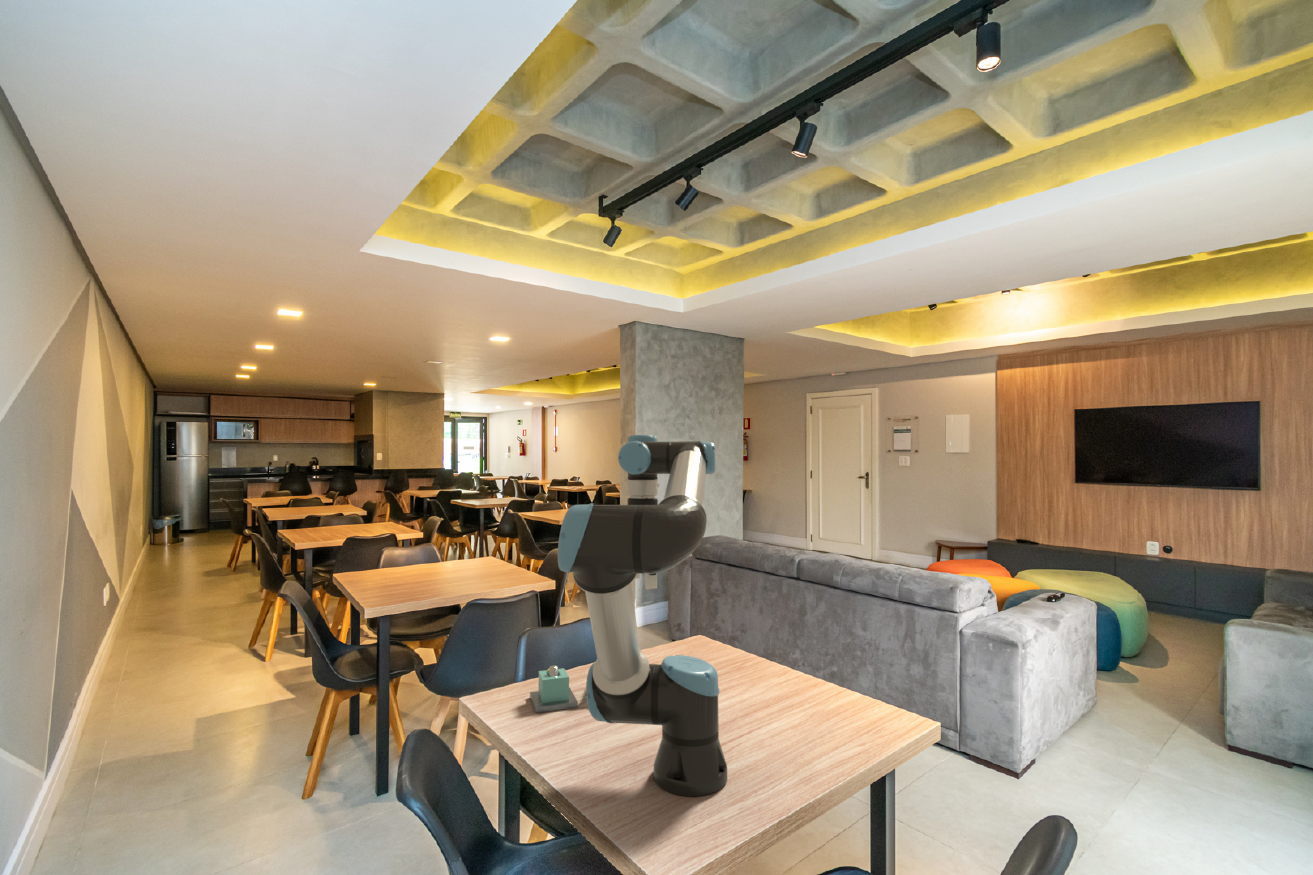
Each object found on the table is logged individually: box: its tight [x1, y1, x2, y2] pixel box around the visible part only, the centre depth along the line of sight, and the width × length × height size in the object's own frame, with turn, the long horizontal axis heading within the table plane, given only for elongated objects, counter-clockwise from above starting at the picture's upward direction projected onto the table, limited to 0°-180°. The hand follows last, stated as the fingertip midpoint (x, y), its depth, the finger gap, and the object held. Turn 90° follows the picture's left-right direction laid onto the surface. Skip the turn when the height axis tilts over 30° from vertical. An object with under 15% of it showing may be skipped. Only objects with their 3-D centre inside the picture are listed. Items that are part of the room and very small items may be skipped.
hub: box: [538, 668, 570, 703], centre depth 163 cm, size 7×7×7 cm
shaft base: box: [529, 664, 579, 714], centre depth 163 cm, size 11×11×10 cm
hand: (642, 583), depth 150 cm, fingers open, 13 cm apart
